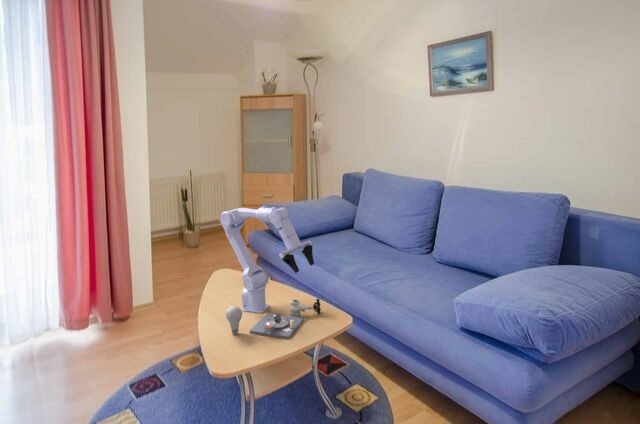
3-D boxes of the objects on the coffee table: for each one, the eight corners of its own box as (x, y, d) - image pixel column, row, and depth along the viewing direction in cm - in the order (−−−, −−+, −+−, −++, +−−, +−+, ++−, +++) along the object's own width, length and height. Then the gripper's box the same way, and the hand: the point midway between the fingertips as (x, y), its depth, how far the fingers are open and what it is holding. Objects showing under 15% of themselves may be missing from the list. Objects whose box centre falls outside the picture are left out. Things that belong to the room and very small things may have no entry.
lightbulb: (235, 339, 167) (234, 311, 165) (223, 335, 171) (221, 307, 168) (246, 332, 172) (245, 305, 170) (234, 328, 176) (233, 302, 173)
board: (249, 333, 172) (249, 323, 171) (267, 315, 187) (267, 306, 186) (288, 339, 167) (288, 328, 166) (303, 320, 182) (303, 311, 181)
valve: (291, 320, 182) (320, 317, 184) (291, 304, 181) (320, 302, 183) (289, 313, 189) (318, 310, 191) (289, 298, 187) (318, 295, 189)
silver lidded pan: (271, 317, 182) (271, 308, 181) (292, 320, 179) (292, 311, 178) (256, 332, 170) (256, 323, 169) (278, 335, 167) (278, 326, 166)
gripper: (279, 240, 168) (295, 273, 167) (308, 227, 177) (324, 258, 175) (271, 245, 174) (286, 277, 172) (300, 233, 183) (315, 263, 181)
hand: (305, 268), depth 174 cm, fingers open, 7 cm apart
